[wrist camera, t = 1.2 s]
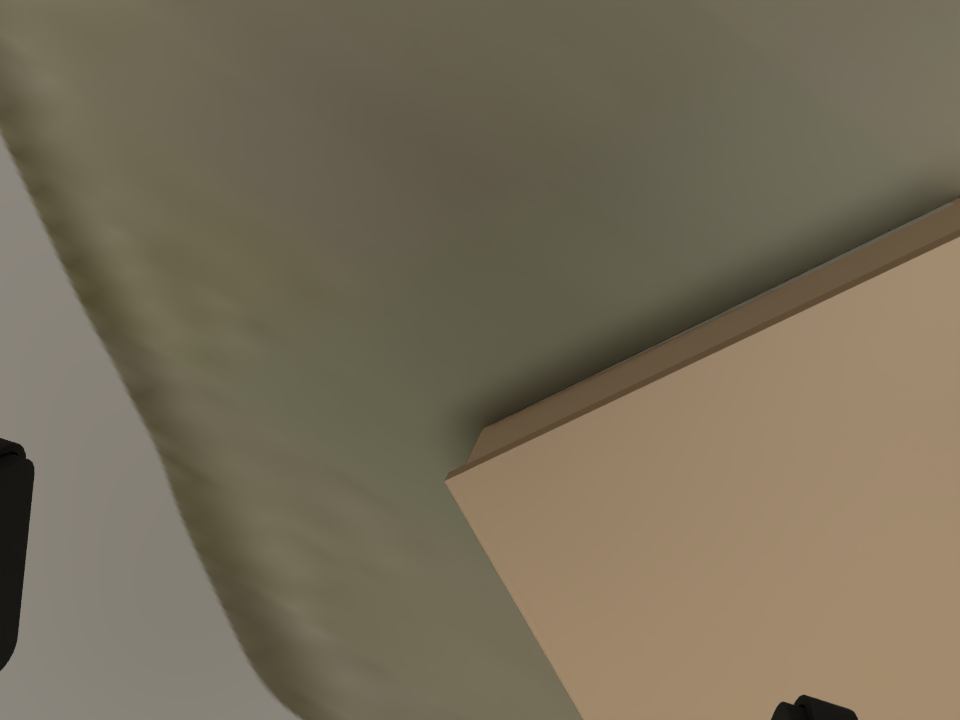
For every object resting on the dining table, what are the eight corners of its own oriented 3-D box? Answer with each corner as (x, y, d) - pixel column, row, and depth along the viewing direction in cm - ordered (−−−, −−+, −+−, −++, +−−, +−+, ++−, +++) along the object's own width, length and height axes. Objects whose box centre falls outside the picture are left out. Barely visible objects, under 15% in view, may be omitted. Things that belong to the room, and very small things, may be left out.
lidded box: (965, 194, 33) (1021, 208, 28) (1134, 565, 35) (1213, 636, 30) (482, 428, 38) (460, 474, 33) (658, 737, 40) (661, 820, 36)
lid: (1030, 195, 28) (1081, 206, 25) (1229, 644, 30) (1299, 706, 27) (448, 472, 33) (429, 510, 30) (658, 833, 36) (660, 903, 32)
